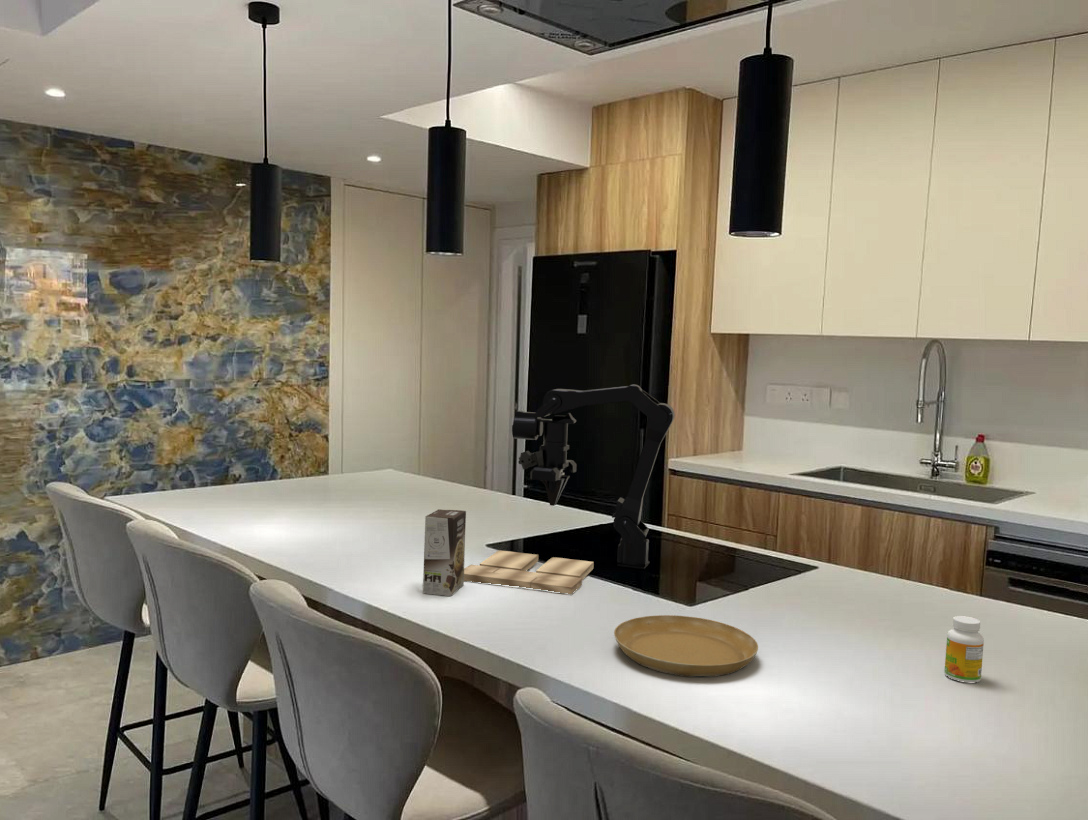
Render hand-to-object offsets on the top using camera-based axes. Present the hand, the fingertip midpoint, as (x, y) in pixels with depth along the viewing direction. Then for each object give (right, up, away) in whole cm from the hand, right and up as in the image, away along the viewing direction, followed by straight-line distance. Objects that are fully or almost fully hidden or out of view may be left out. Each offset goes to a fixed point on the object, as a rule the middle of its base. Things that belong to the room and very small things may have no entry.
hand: (552, 505), depth 210 cm
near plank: (+3, -14, -14) cm, 20 cm away
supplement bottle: (+66, -21, -69) cm, 98 cm away
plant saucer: (+22, -19, -63) cm, 69 cm away
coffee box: (-23, -15, -29) cm, 40 cm away
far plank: (-10, -13, -9) cm, 19 cm away
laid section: (-8, -14, -22) cm, 28 cm away
